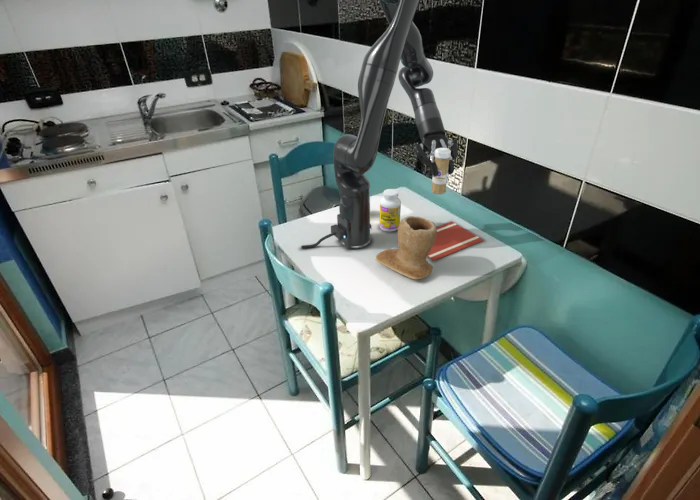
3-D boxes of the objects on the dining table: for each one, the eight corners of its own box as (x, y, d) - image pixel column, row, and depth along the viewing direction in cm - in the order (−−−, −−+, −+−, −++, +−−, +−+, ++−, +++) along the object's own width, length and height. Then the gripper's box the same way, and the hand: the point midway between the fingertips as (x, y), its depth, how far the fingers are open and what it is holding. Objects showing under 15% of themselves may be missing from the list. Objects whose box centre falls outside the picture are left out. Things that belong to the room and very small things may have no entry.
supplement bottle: (376, 230, 136) (377, 194, 129) (383, 221, 142) (383, 186, 135) (396, 233, 134) (397, 197, 127) (402, 224, 139) (403, 189, 132)
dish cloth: (433, 261, 121) (433, 259, 121) (403, 240, 131) (404, 238, 131) (482, 240, 129) (483, 239, 129) (451, 222, 140) (451, 221, 139)
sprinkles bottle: (430, 194, 128) (434, 152, 120) (431, 188, 131) (435, 146, 124) (445, 195, 127) (450, 153, 120) (446, 189, 131) (451, 147, 123)
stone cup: (441, 268, 118) (447, 222, 110) (415, 287, 111) (419, 239, 103) (400, 248, 127) (402, 204, 119) (373, 264, 120) (374, 219, 112)
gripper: (411, 118, 122) (426, 172, 119) (455, 113, 125) (471, 166, 122) (403, 131, 129) (417, 182, 126) (445, 126, 132) (459, 176, 129)
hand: (443, 174), depth 124 cm, fingers closed on sprinkles bottle, 4 cm apart
